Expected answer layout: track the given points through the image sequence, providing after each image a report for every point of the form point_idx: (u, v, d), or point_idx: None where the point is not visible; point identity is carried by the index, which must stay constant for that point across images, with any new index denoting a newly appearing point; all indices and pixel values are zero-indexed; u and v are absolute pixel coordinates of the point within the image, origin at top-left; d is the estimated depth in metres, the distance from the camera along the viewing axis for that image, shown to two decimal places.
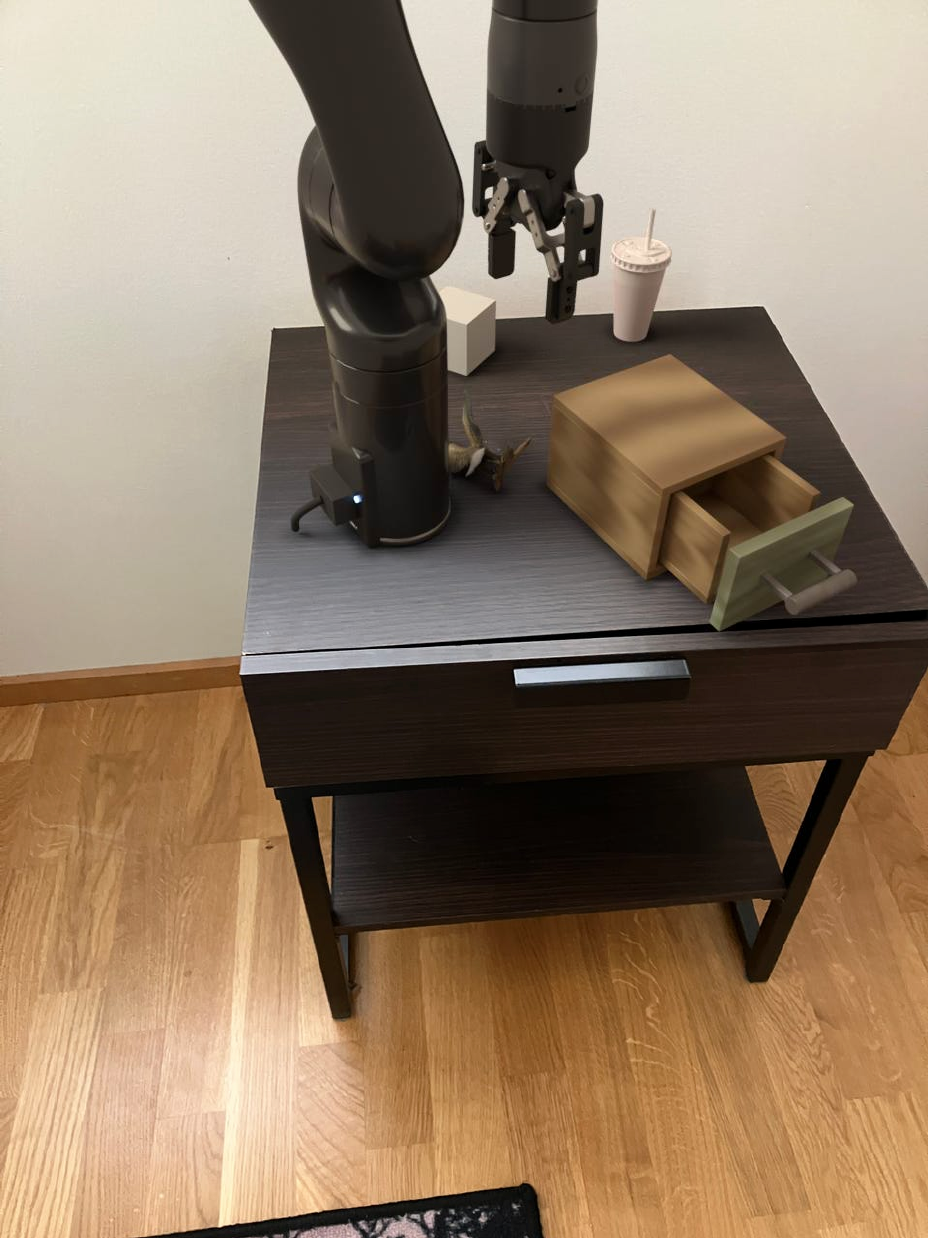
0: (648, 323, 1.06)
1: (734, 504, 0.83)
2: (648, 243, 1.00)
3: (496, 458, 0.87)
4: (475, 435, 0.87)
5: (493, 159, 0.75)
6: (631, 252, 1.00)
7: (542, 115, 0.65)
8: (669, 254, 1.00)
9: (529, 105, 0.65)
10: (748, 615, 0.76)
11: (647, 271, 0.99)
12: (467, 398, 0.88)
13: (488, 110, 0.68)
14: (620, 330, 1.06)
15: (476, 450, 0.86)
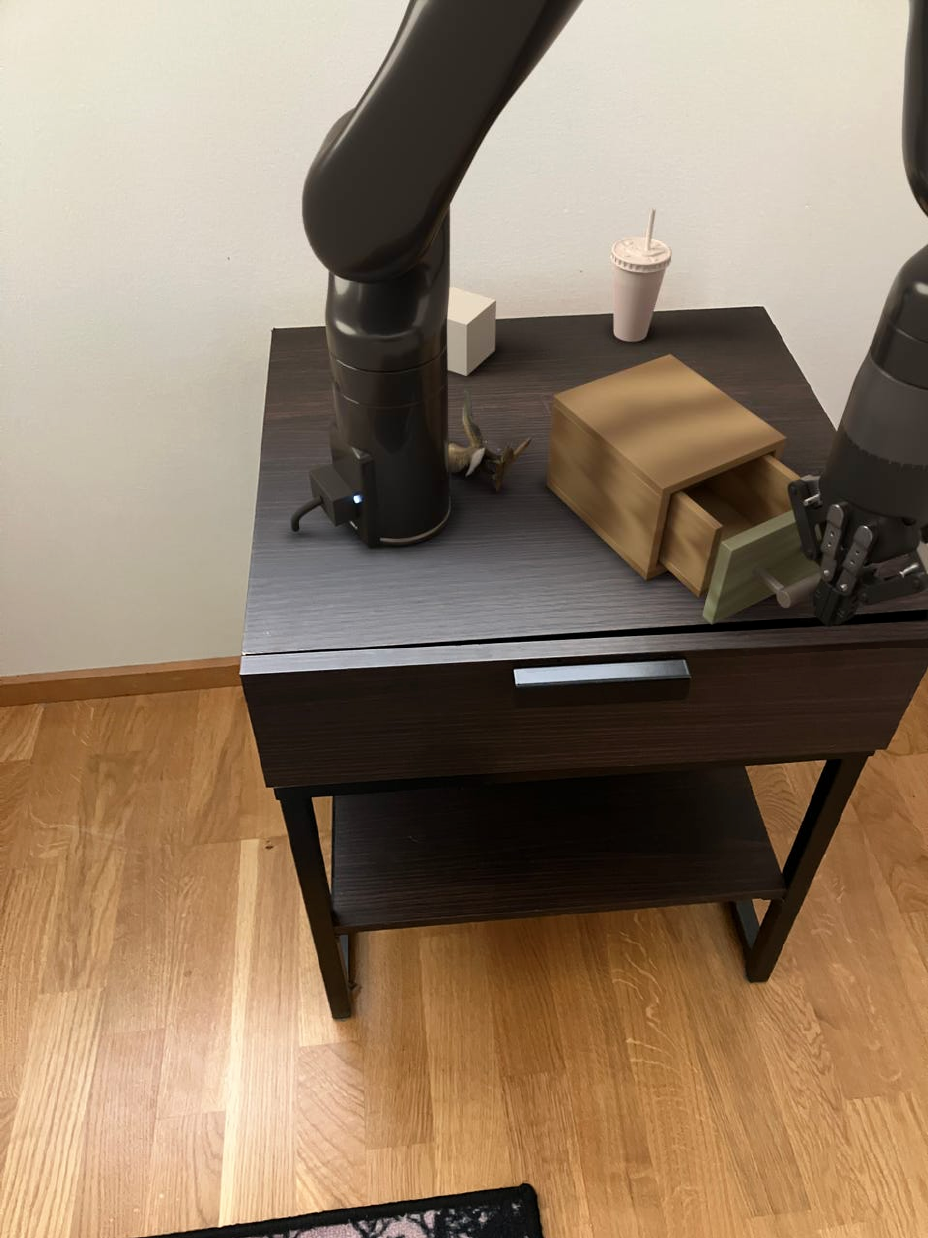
0: (648, 323, 1.06)
1: (727, 499, 0.84)
2: (648, 243, 1.00)
3: (496, 458, 0.87)
4: (475, 435, 0.87)
5: (814, 491, 0.68)
6: (631, 252, 1.00)
7: (920, 474, 0.58)
8: (669, 254, 1.00)
9: (907, 464, 0.57)
10: (741, 608, 0.77)
11: (647, 271, 0.99)
12: (467, 398, 0.88)
13: (844, 454, 0.60)
14: (620, 330, 1.06)
15: (476, 450, 0.86)
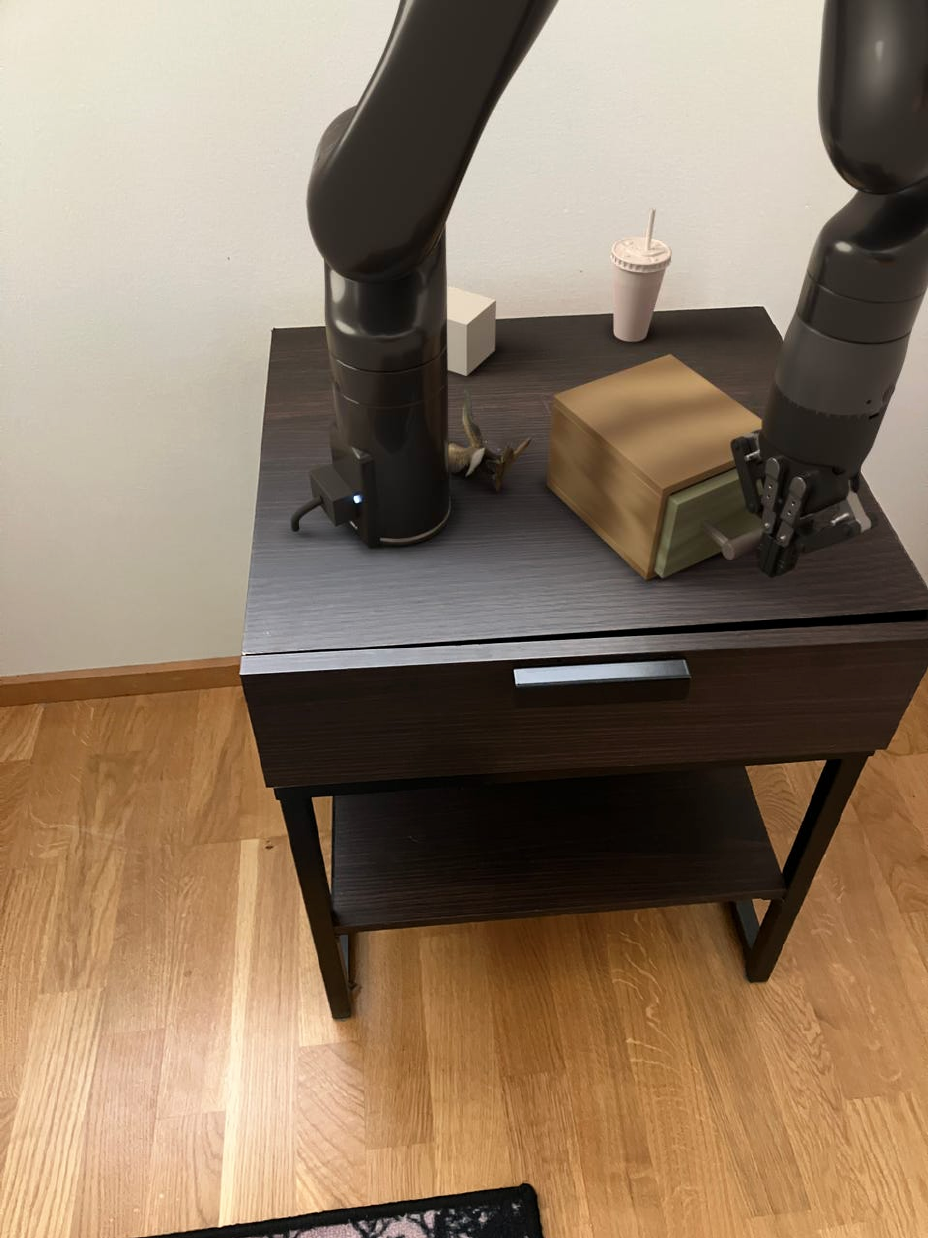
0: (648, 323, 1.06)
1: None
2: (648, 243, 1.00)
3: (496, 458, 0.87)
4: (475, 435, 0.87)
5: (754, 447, 0.71)
6: (631, 252, 1.00)
7: (845, 423, 0.61)
8: (669, 254, 1.00)
9: (832, 415, 0.61)
10: (690, 563, 0.80)
11: (647, 271, 0.99)
12: (467, 398, 0.88)
13: (776, 407, 0.64)
14: (620, 330, 1.06)
15: (476, 450, 0.86)
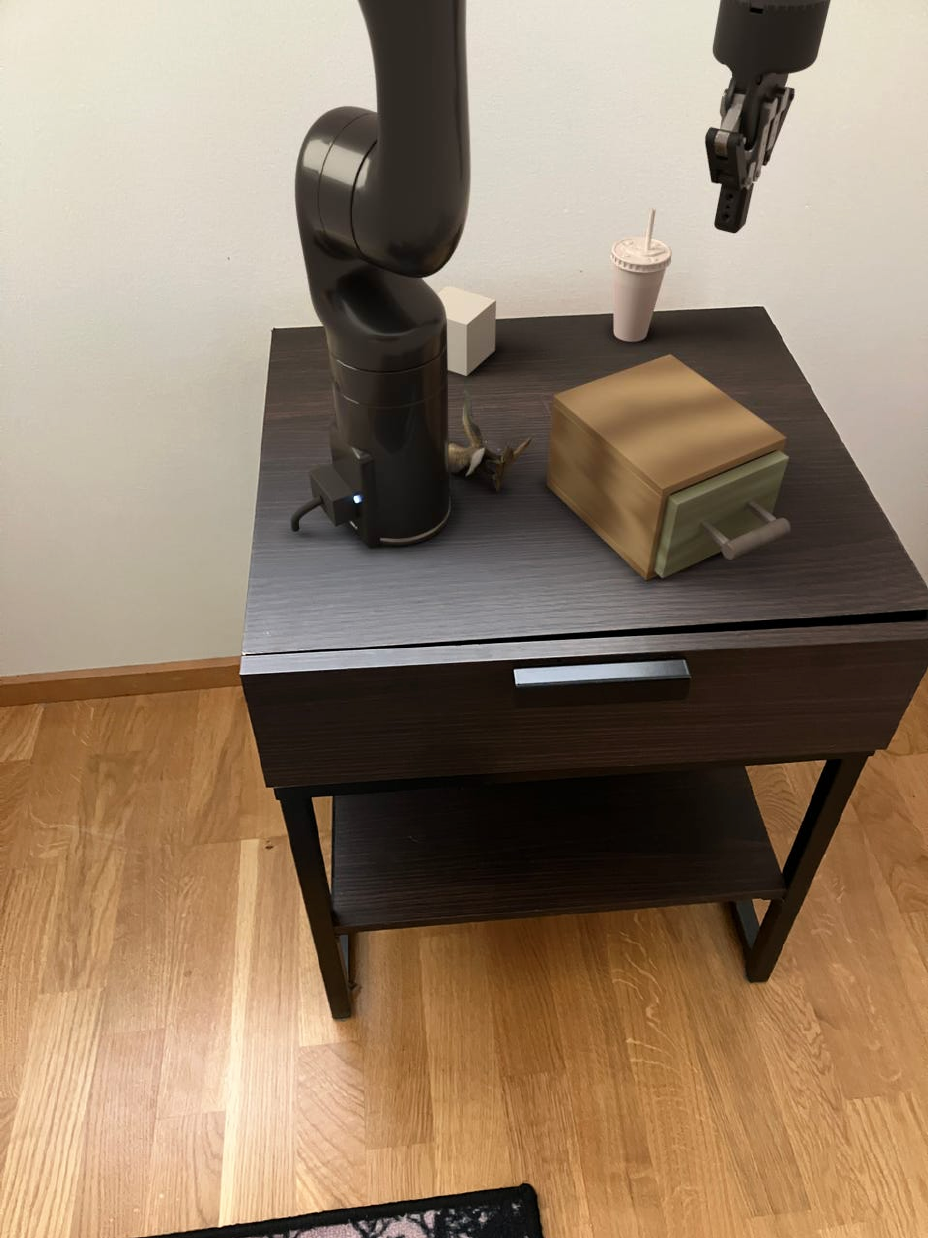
0: (648, 323, 1.06)
1: None
2: (648, 243, 1.00)
3: (496, 458, 0.87)
4: (475, 435, 0.87)
5: None
6: (631, 252, 1.00)
7: (731, 7, 0.67)
8: (669, 254, 1.00)
9: None
10: (690, 563, 0.80)
11: (647, 271, 0.99)
12: (467, 398, 0.88)
13: None
14: (620, 330, 1.06)
15: (476, 450, 0.86)
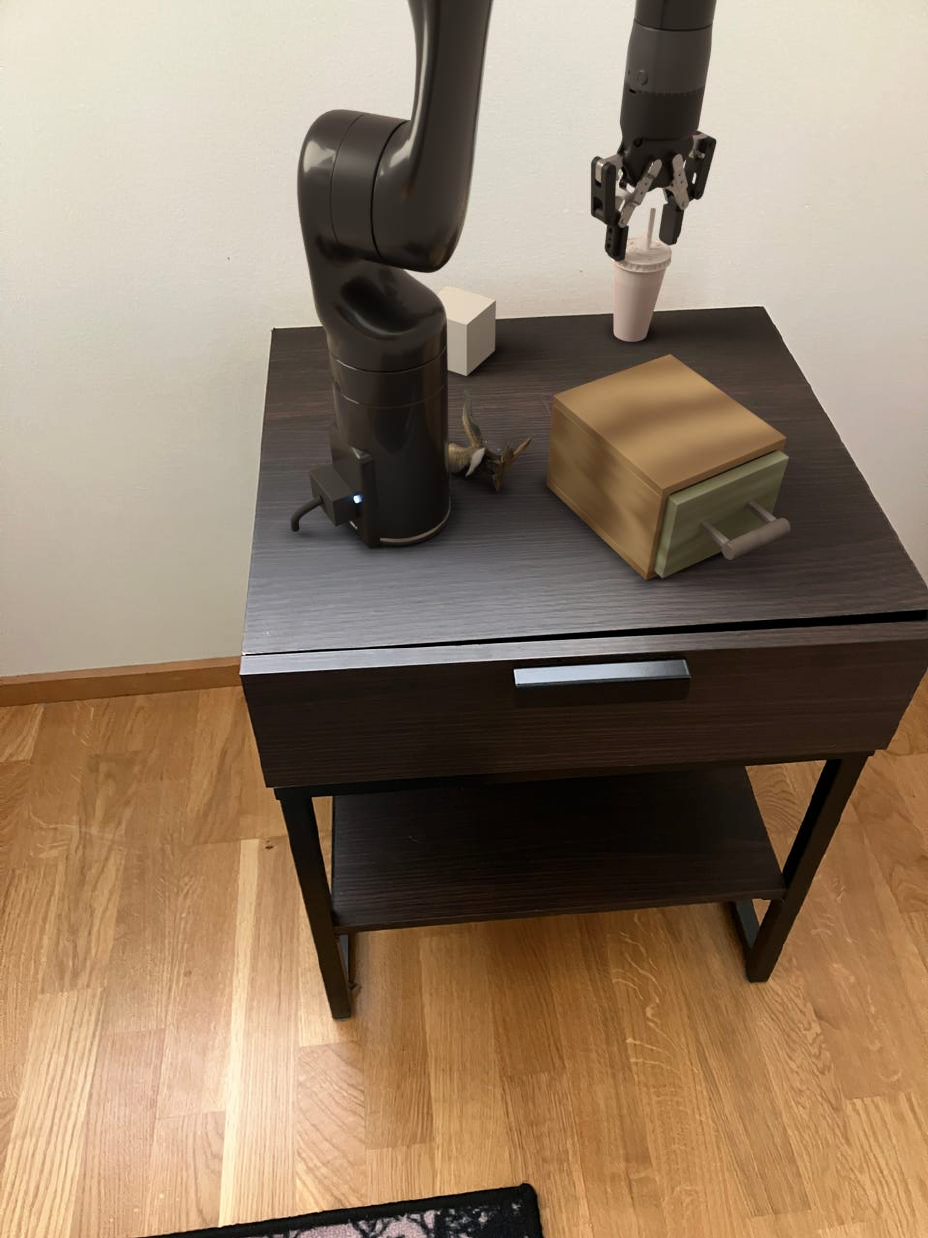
0: (648, 323, 1.06)
1: None
2: (648, 243, 1.00)
3: (496, 458, 0.87)
4: (475, 435, 0.87)
5: None
6: (631, 252, 1.00)
7: (623, 86, 0.89)
8: (670, 254, 1.00)
9: (624, 76, 0.90)
10: (690, 563, 0.80)
11: (647, 271, 0.99)
12: (467, 398, 0.88)
13: None
14: (620, 330, 1.06)
15: (476, 450, 0.86)
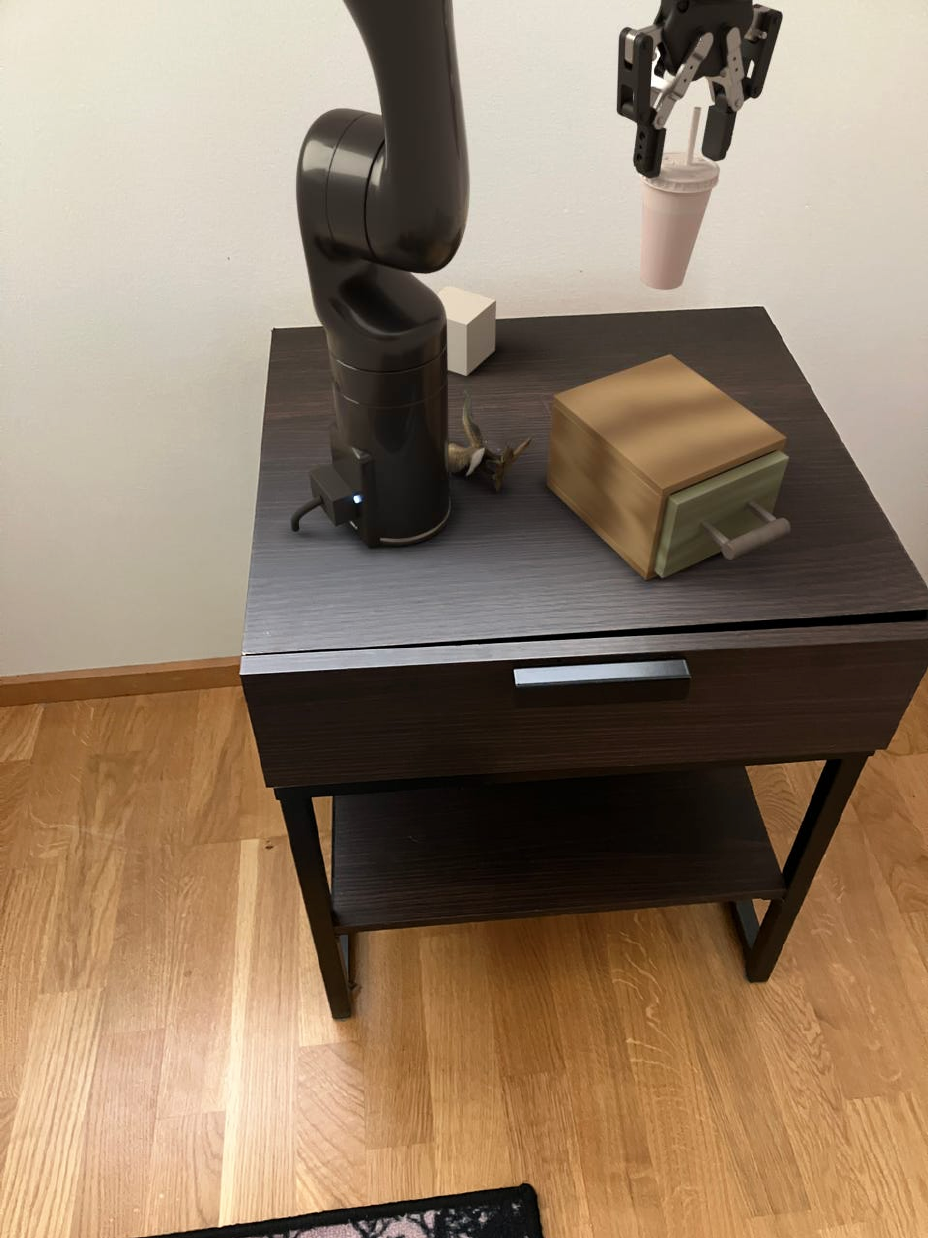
0: (686, 265, 0.82)
1: None
2: (690, 156, 0.76)
3: (496, 458, 0.87)
4: (475, 435, 0.87)
5: None
6: (667, 168, 0.77)
7: None
8: (717, 171, 0.77)
9: None
10: (690, 563, 0.80)
11: (688, 191, 0.76)
12: (467, 398, 0.88)
13: None
14: (650, 275, 0.82)
15: (476, 450, 0.86)
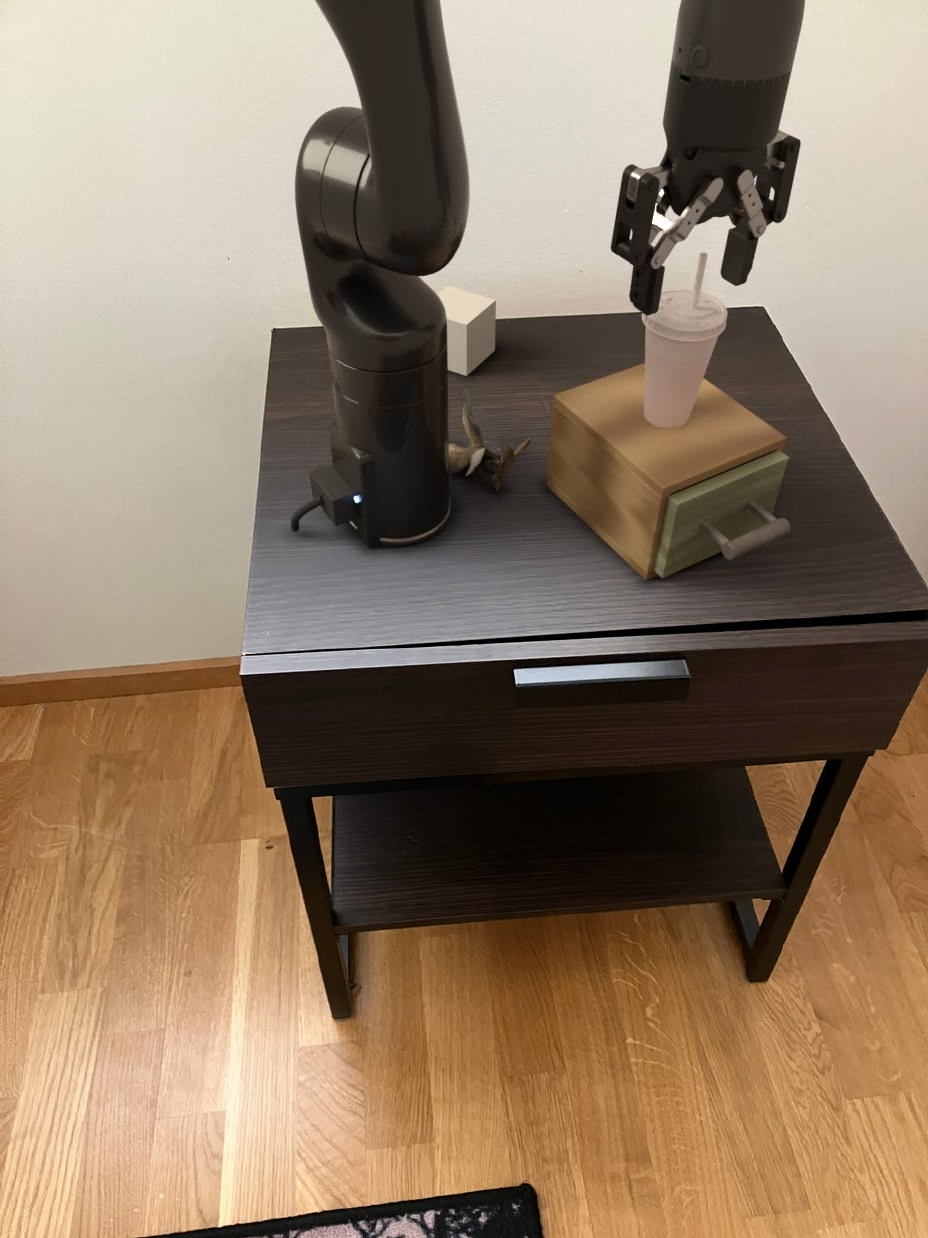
0: (692, 405, 0.78)
1: None
2: (695, 300, 0.72)
3: (496, 458, 0.87)
4: (475, 435, 0.87)
5: None
6: (672, 312, 0.73)
7: (670, 71, 0.61)
8: (725, 316, 0.72)
9: None
10: (690, 563, 0.80)
11: (694, 339, 0.71)
12: (467, 398, 0.88)
13: None
14: (654, 414, 0.78)
15: (476, 450, 0.86)
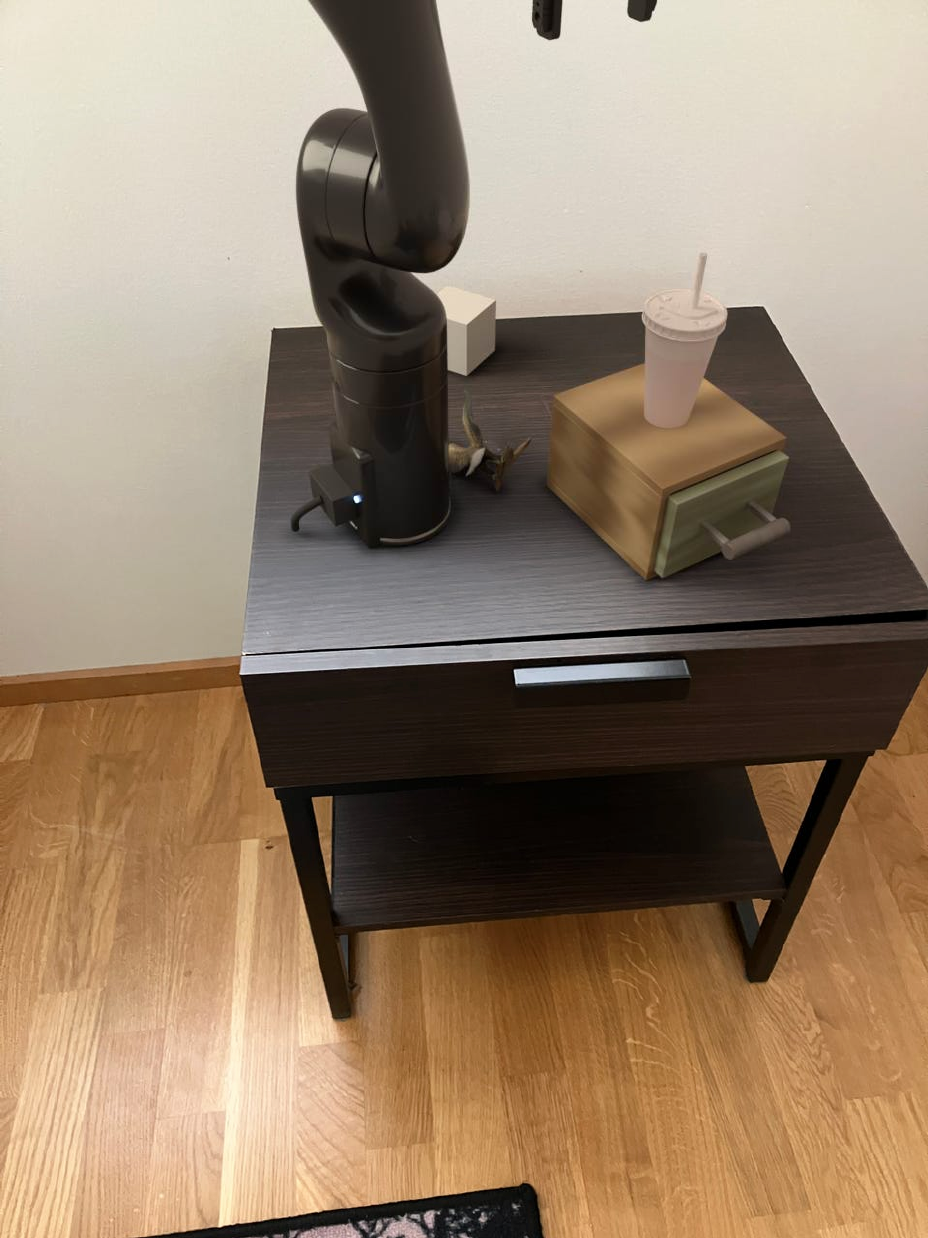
0: (692, 405, 0.78)
1: None
2: (695, 300, 0.72)
3: (496, 458, 0.87)
4: (475, 435, 0.87)
5: None
6: (672, 312, 0.73)
7: None
8: (725, 316, 0.72)
9: None
10: (690, 563, 0.80)
11: (694, 339, 0.71)
12: (467, 398, 0.88)
13: None
14: (654, 414, 0.78)
15: (476, 450, 0.86)
